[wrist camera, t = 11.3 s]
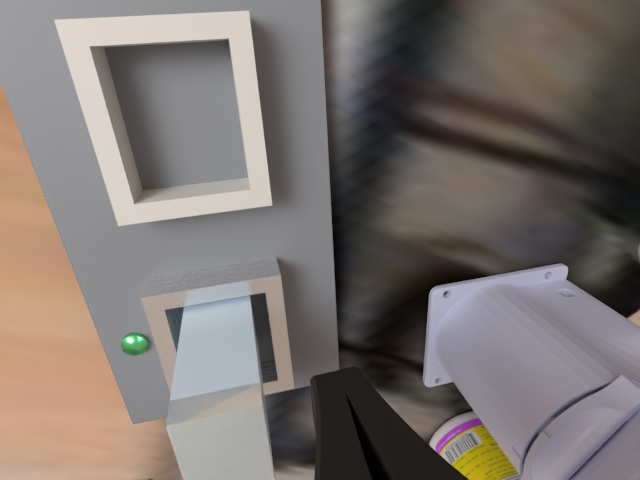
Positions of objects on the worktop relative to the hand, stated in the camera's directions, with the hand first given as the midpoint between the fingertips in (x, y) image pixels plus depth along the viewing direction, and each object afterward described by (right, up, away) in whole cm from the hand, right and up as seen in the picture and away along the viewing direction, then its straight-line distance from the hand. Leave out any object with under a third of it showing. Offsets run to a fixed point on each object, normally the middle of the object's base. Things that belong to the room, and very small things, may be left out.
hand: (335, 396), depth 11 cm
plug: (-5, 0, +9) cm, 11 cm away
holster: (-6, +10, +6) cm, 13 cm away
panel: (-6, +5, +8) cm, 11 cm away
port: (-6, 0, +9) cm, 11 cm away
